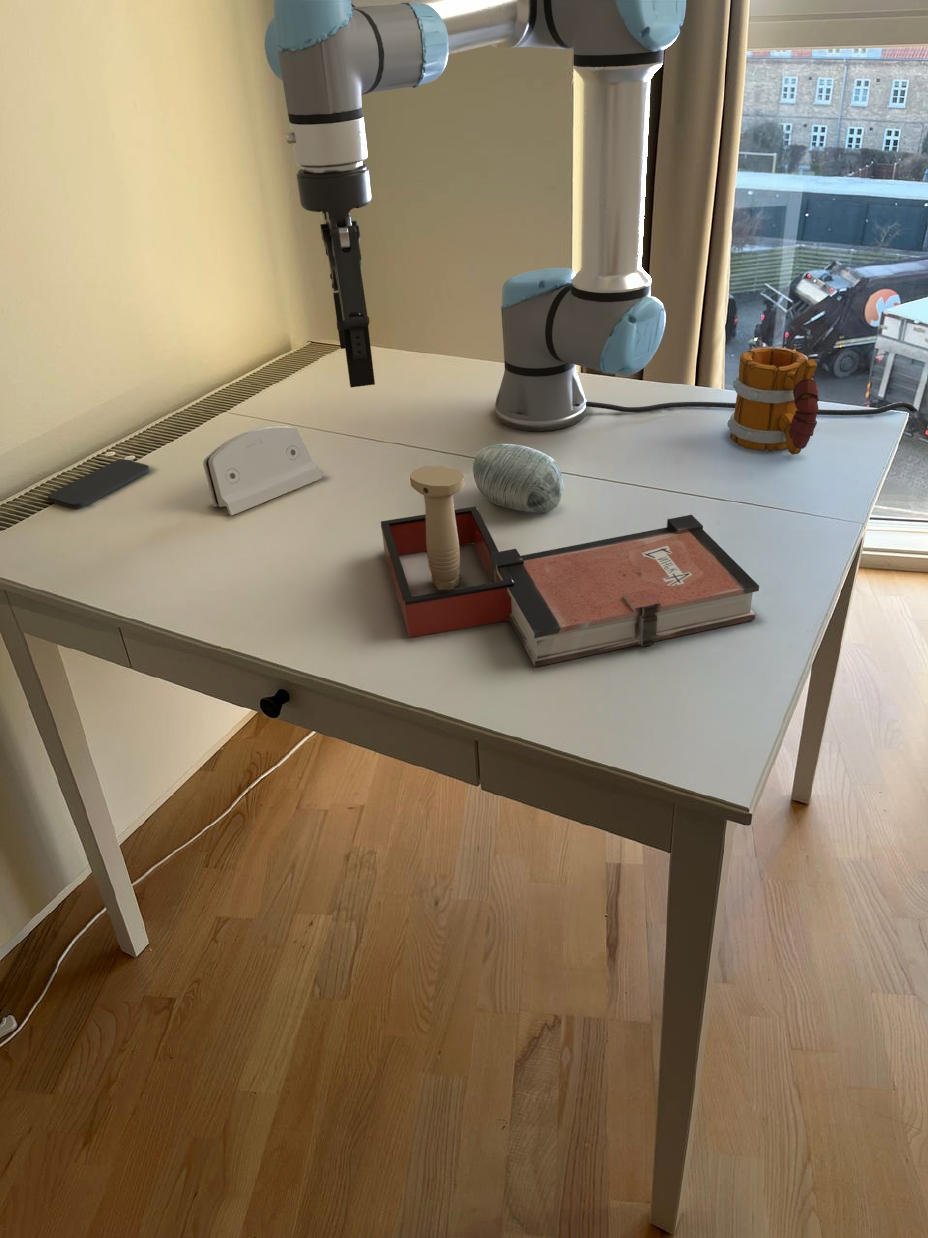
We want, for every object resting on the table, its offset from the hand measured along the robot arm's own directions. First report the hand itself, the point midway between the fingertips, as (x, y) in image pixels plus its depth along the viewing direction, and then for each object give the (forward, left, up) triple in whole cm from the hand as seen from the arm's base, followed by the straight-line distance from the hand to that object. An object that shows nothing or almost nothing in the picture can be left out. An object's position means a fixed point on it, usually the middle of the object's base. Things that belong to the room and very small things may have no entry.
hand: (356, 365), depth 111 cm
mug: (-63, -14, -26) cm, 69 cm away
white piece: (+14, -25, -26) cm, 39 cm away
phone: (+39, -35, -26) cm, 59 cm away
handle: (-7, +10, -26) cm, 29 cm away
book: (-25, +20, -26) cm, 42 cm away
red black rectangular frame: (-7, +10, -26) cm, 28 cm away
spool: (-21, -8, -26) cm, 34 cm away
